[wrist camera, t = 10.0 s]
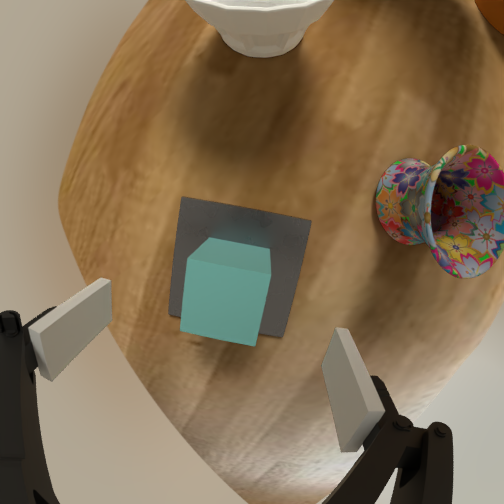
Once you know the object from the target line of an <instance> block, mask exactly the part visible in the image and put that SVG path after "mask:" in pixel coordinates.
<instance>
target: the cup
mask: <svg viewBox="0 0 504 504" xmlns="http://www.w3.org/2000/svg"><path fill="white" fill-rule="evenodd" d="M185 1H186V2H187V3H188V4H189V5H190V7H191V8H192V9H193V10H194V11H195V12H196V13H197V14H198V15H199V16H201V17H202V18H203V19H204V20H206V21H207V22H208V23H209V24H210V25H212V26H214V27H215V28H216V30H217V31H218V32H219V33H220V34H221V36H222V38H223V41H224V42H225V43H226V44H227V45H228V46H229V47H231V48H232V49H233V50H235V51H237V52H239V53H241V54H244V55H246V56H249V57H262V58H267V57H273V56H278V55H283V54H285V53H286V52H288V51H290V50H291V49H293V48H294V47H296V46H297V44H298V43H299V42H300V41H301V39H302V38H303V36H304V33H305V31H306V29H307V28H308V26H309V25H310V24H311V23H313V22H316V21H318V20H319V19H320V17H321V16H322V15H323V14H324V12H325V11H326V10H327V9H328V8H329V6H330V5H331V4H332V2H333V1H334V0H185Z"/></svg>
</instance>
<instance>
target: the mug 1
mask: <svg viewBox="0 0 504 504" xmlns="http://www.w3.org/2000/svg"><path fill="white" fill-rule="evenodd" d="M376 209H377V214H378V217H379V220H380V222H381V224H382V226H383V228H384V229H385V231H386V232H387V233H388V234H389V235H390V236H391V237H392V238H393V239H395V240H396V241H398V242H400V243H403V244H406V245H417V244H421V243H426V244H427V245H428V246H429V247H430V249H431V252H432V254H433V256H434V258H435V259H436V261H437V262H438V264H439V265H440V266H441V267H442V268H443V269H444V270H445V271H446V272H447V273H449V274H451V275H452V276H455V277H457V278H463V279H468V278H474V277H477V276H479V275H481V274H483V273H484V272H486V271H487V270H488V269H489V268H490V267H491V266H492V265H493V264H494V263H495V262H496V260H497V259H498V258H499V256H500V254H501V253H502V251H503V249H504V173H503V171H502V169H501V167H500V166H499V164H498V163H497V161H496V160H495V159H494V158H493V157H492V156H491V155H490V154H489V153H488V152H486V151H485V150H483V149H482V148H479V147H477V146H473V145H461V146H457V147H455V148H453V149H451V150H450V151H448V152H447V153H446V154H445V155H444V156H443V157H442V158H441V159H440V160H439V161H438V163H437V164H435V165H433V166H430V165H429V164H427V163H426V162H424V161H421V160H418V159H414V158H406V159H402V160H399V161H397V162H395V163H394V164H392V165H391V166H390V167H389V168H388V169H387V170H386V171H385V172H384V174H383V175H382V177H381V179H380V181H379V184H378V187H377V192H376Z"/></svg>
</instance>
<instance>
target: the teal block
mask: <svg viewBox="0 0 504 504" xmlns="http://www.w3.org/2000/svg"><path fill="white" fill-rule="evenodd" d="M270 278H271V260H270V249H268V248H263V247H257V246H252V245H247V244H242V243H237V242H231V241H226V240H221V239H216V238H210V237H209V238H208V239H207V240H206V241H205V242H204V243H203V244H202V245H201V246H200V247H199V248H198V249H197V250H196V251H195V252H193V253H192V254H191V255H190V256H189V257H188V258H187V266H186V274H185V283H184V293H183V302H182V313H181V324H180V331H183V332H187V333H192V334H196V335H200V336H205V337H210V338H214V339H219V340H224V341H229V342H234V343H239V344H244V345H250V346H255V345H256V341H257V336H258V332H259V328H260V323H261V319H262V315H263V310H264V306H265V301H266V297H267V292H268V288H269V283H270Z"/></svg>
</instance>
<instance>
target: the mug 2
mask: <svg viewBox="0 0 504 504" xmlns="http://www.w3.org/2000/svg"><path fill="white" fill-rule="evenodd" d="M475 3H476V5H477V7H478V8H479V10H480V11H481V13H482V14H483V16H484V17H485V18H486V19H487V20H488V22H489V23H490V24H491V25H492V26H493V27H494V28H495V29H496V30H498V31H499V32H500V33H501V34H503V35H504V0H475Z"/></svg>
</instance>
